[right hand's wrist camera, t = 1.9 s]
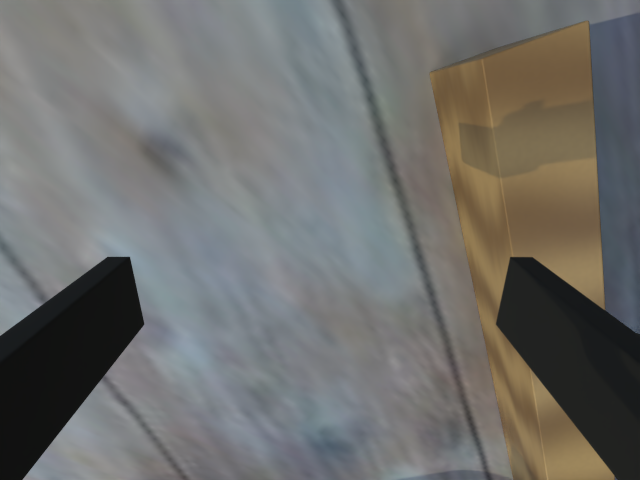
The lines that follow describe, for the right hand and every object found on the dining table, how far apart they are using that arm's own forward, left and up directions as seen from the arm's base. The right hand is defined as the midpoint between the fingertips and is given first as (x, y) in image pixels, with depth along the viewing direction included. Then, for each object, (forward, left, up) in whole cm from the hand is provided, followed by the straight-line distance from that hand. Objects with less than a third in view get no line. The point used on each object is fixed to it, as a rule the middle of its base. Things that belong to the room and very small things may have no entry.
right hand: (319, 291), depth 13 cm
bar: (+4, +32, -17) cm, 36 cm away
